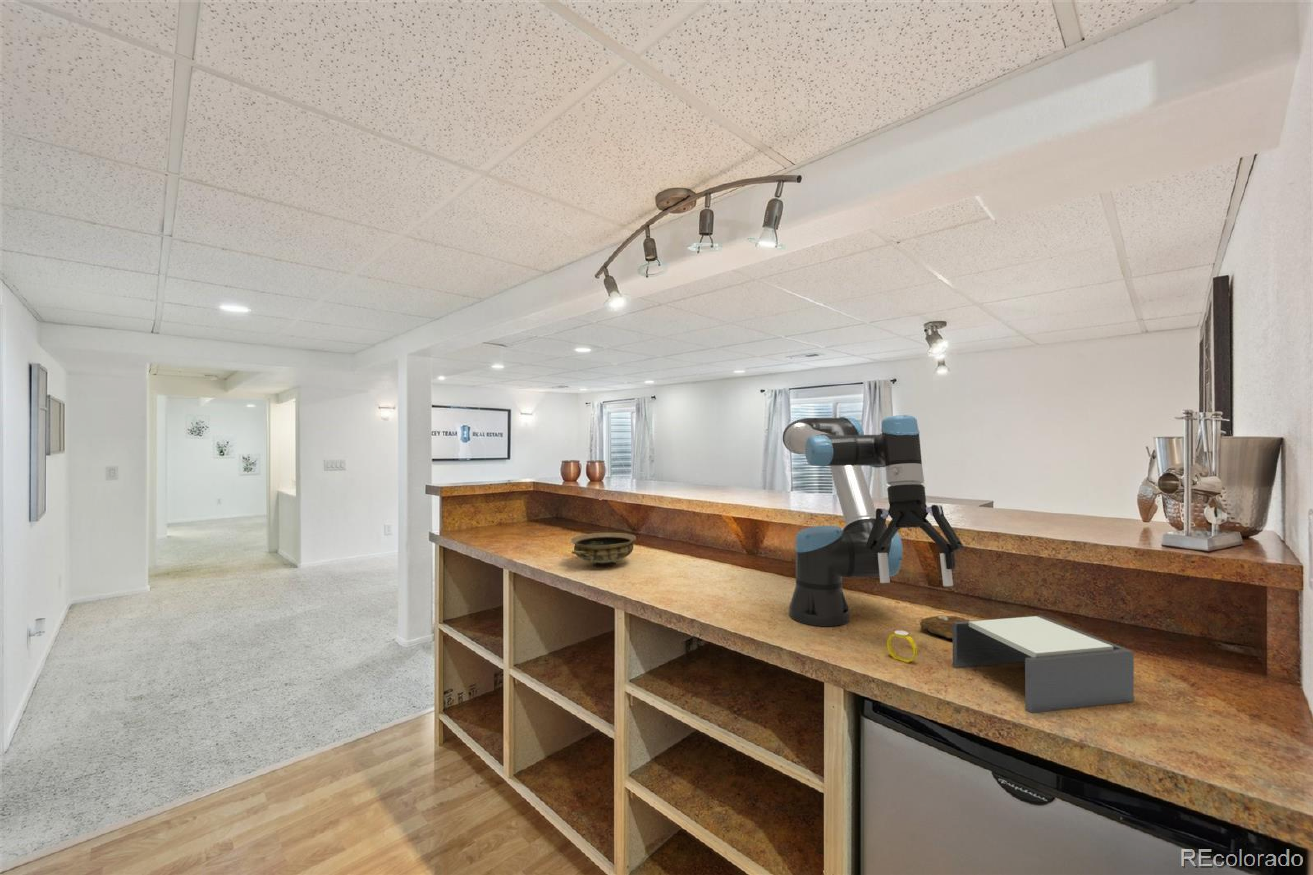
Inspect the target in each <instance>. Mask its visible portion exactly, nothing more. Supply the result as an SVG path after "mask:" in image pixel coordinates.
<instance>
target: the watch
mask: <svg viewBox="0 0 1313 875" xmlns="http://www.w3.org/2000/svg"><path fill="white" fill-rule="evenodd" d="M894 637H896V638H899V639H905V640H907V642H909V644H910V647H911V648H912V656H911V658H910V659H909V658H904V657H902V656H899V655H898V654H897V653H896V652H895V651H894V649H893V646H892V642H893V641H892V639H893V638H894ZM886 648H887V650H888V653H889V655H890V656H891V657H892V658H893V659H894V660H897V661H898V660H899V661H901V662H904V663H907V664H908V663H910V662H912V661H914V660H915V659H916V658H917V655H918V645H917V644H916V642H915V639H913V638H912V637H911V636H910V634H909V632H908V631H906V630H895V631H894V633H891V635H889V636H888V638H887V641H886Z"/></svg>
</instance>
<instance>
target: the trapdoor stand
mask: <svg viewBox="0 0 1313 875" xmlns="http://www.w3.org/2000/svg"><path fill="white" fill-rule="evenodd" d="M1034 616H1035V615H1030V616H1029V615H1028V616H1026V617H1034ZM1036 616H1037V617H1040V618H1042V619H1045V620H1047V621H1050V622H1052V623H1055V624H1057V625H1060V626H1063V627H1065V628H1068V629H1070V630H1073V631H1075V632H1078V633H1080V634H1083V635H1086V636H1088V637H1091V638H1093V639H1096V640H1098V641H1101V642H1103V643H1106V644H1109V645H1111V646H1113V650H1107V651H1096V652H1085V653H1074V654H1063V655H1052V656H1041V657H1031V656H1029V655H1027V654H1025V653H1023V652H1021V651H1019V650H1017V649H1015V648H1012V647H1010V646H1008V645H1006V644H1004V643H1002V642H1000V641H998V640H996V639H994V638H992V637H990V636H988V635H986V634H983V633H981V632H979V631H977V630H975V629H973V628H971V627H969V621H962V622H953V639H952V666H953V667H955V668H956V669H961V668H970V667H973V668H974V667H981V666H982V667H983V666H992V665H1002V664H1003V665H1006V664H1013V663H1015V664H1016V663H1024V678H1025V679H1024V680H1025V683H1024V692H1025V693H1024V694H1025V695H1024V696H1025V697H1024V698H1025V699H1024V700H1025V701H1024V702H1025V703H1024V704H1025V705H1024V706H1025V710H1026V711H1028V712H1029V713H1032V714H1033V713H1040V712H1041V713H1043V712H1051V711H1059V710H1068V709H1069V710H1070V709H1077V708H1086V707H1087V708H1088V707H1095V706H1097V707H1098V706H1104V705H1105V706H1106V705H1107V706H1108V705H1115V704H1124V703H1132V702H1134V698H1135V697H1134V695H1135V694H1134V691H1135V690H1134V688H1135V687H1134V681H1135V680H1134V678H1135V676H1134V674H1135V673H1134V668H1135V666H1134V665H1135V664H1134V662H1135V661H1134V658H1135V657H1134V652H1135V651H1133V650H1131V649H1129V648H1126V647H1123V646H1121V645H1118V644H1116V643H1112V642H1110V641H1109V640H1106V639H1102V638H1100V637H1098V636H1094V635H1092V634H1090V633H1088V632H1087V633H1086V632H1085V631H1081V630H1079V629H1077V628H1074V627H1071V626H1069V625H1067V624H1063V623H1061V622H1058V621H1056V620H1053V619H1052V618H1051V619H1050V618H1049V617H1046V616H1043V615H1036ZM1021 617H1022V616H1017V617H1013V618H1021ZM1008 618H1009V617H1004V618H1003V617H1002V618H1000V619H1008ZM995 619H996V618H992V619H991V618H989V619H987V620H995ZM982 620H983V619H977V620H975V619H974V621H982Z"/></svg>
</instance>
